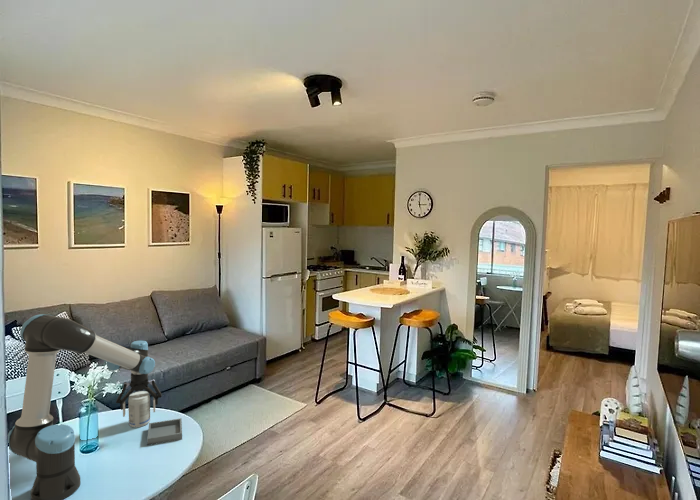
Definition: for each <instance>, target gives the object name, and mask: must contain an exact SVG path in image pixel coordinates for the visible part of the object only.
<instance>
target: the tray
mask: <svg viewBox="0 0 700 500" xmlns="http://www.w3.org/2000/svg"><path fill="white" fill-rule="evenodd" d="M146 440H147V442H146V443H147V444H146V445H147V446H151V444H152V445H155V444H156V443H157V444H161V443H162V442H163V443H168V441H169V442H174V440H175V441H179V440H183V422H182V417H180V418H175V419H168V420H162V421H161V420H160V421H156V422H149V423H148V431H147V439H146ZM163 443H162V444H163ZM157 444H156V445H157Z"/></svg>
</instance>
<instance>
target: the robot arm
mask: <svg viewBox="0 0 700 500" xmlns="http://www.w3.org/2000/svg"><path fill="white" fill-rule="evenodd" d="M19 334H20V338H21V339H22V340H23V341H24V342H25V347H24V352H25V353H26V354H27V355H28V362H27V369H26V375H25V376H26V378H25V385H24V394H23V401H22V409H21V416H20V418H18V419H17V420H16V421H15V423H14V426H13V427H12V429H10V430H9V431H8V433H7V436H8V443H9V449H8V450H9V451H11V453H13V454H15V455H16V456H21V457H23V458H25V459H27V460H30V461H32V462H34V463H35V465H36V467H35V468H36V469H35V470H36V476H35V479H34V481H33V484H32V488H31V490H30V500H64V499H67V498H68V497H70V496H71V495H73V494H74V493H75V492H77V490H78V489H79V488H80V486H81V475H80V473H79V470H78V469H77V467H76V464H75V460H76V459H75V458H76V456H75V455H76V453H75V450H76V449H75V442H76V436H75V432H74V428H73V427H72V426H71V425H68V424H64V423H63V424H62V423H61V424H58V423H57V424H54V423H53V422H54V417H53V415H52V414H51V413H50V408H51V401H52V393H53V385H54V377H55V368H56V359H57V354H58V353H59V352H60V351H61V350H62V351H68V352H73V353H76V354H78V355H79V354H80V355H82V354H86V355H89V356H93V357H94V358H98V359H100V360H102V361H106V367H107V369H108V370H110V371H111V372H112V371H117V370H118V371H119V370H120V369H122V370H125V371H129V372H130V382H126V381H125V382H124V383H123V386H122V389H121V391H122V393H121V392H120V393H119V395H118V396H117V399H116V400H115V403H116V404H120V410H121V411H122V417H126V400H127V399H129V396H130V395H131V394H132V393H134V392H139V391H146V392H148V393H149V395H150V397H153V402H152V403H153V405H152V406H153V407H152V408H153V409H152V410H153V413H156V406H157V405H158V404H159V403H158V402H159V398H162V394H163V393H162V391H161V390H160V388H159V387H158V385H157V383H156V380H155V378H153V379H151V380H149V374H150V373H152V372H153V371H154V369H155V367H156V361H155V359H154V358H153V357H150V356H149V344H148V342H147V341H146V340H134V341H132V342H131V343H130V347H128V348H126V347H124V346H122V345H120V344H117V343H115V342H113V341H110V340H108V339H106V338H103V337H101V336H99V335H98V334H96V331H94V330H92V329H89V328H88V327H86V326H84V325H82V324H80V323H78V322H77V321H74V320H73V319H71V318H67V317H61V316H55V315H53V314H45V313H41V314H35V315H32V316H31V317H29V318H28V319H27V320H25V321H24V323H23V324H22V326H21V327H20V331H19ZM149 384H150V385H152V388H153V389H154V391H153V389H151V387H149ZM129 387H130V389H129V390H128V392H127V393H126V394H125V395H124V393H125V392H126V389H127V388H129ZM123 395H124V396H123Z"/></svg>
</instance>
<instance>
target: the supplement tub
mask: <svg viewBox="0 0 700 500" xmlns="http://www.w3.org/2000/svg"><path fill="white" fill-rule="evenodd" d="M127 399H128V401H127V402H128V407H127V408H128V425H129V426H130V428H131V427H132V428H141V427H144V426H147V425H149V423H151V422H150V421H151V395H150V394H149V393H148V392H147V391H145V390H142V391H134V392H132V393H131V394H130V396H129V397H128V398H127Z"/></svg>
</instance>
